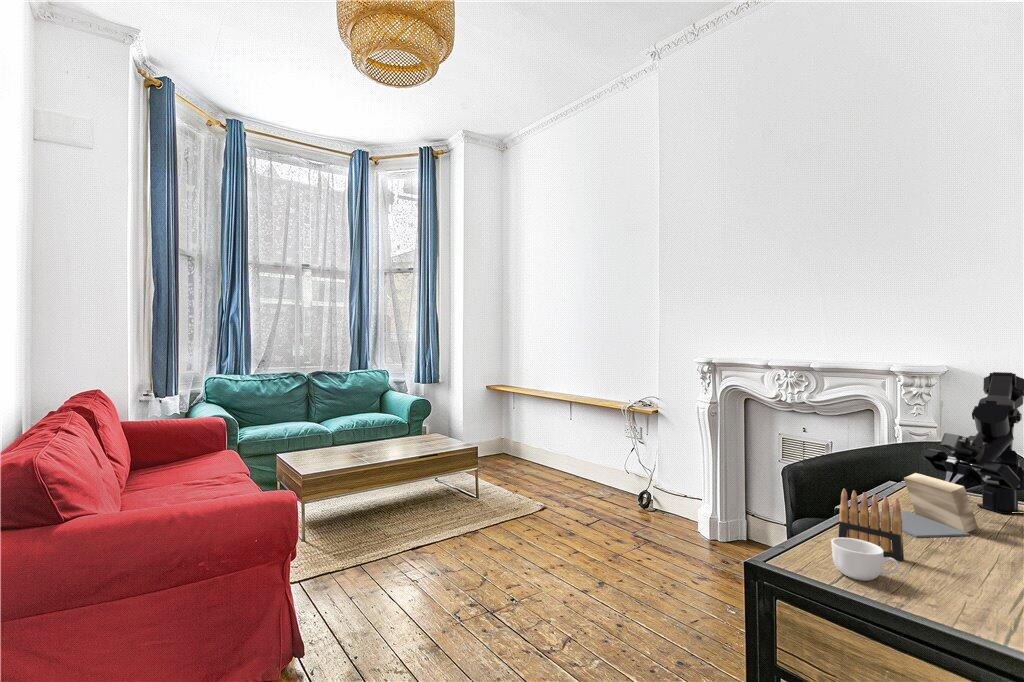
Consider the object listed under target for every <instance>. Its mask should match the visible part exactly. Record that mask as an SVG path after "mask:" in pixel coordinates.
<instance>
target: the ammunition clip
mask: <svg viewBox="0 0 1024 682" xmlns="http://www.w3.org/2000/svg"><path fill="white" fill-rule="evenodd" d="M877 496H878V495H876V493H874V494H873V495H872V498H871V502H870V504H871V505H870V511H869V503H868V502H869V501H868V500H869V499H868V495H867V494H866V492H865V491H864V492H862V495H861V498H860V510H859V504H858V503H859V502H858V494H857V491H856V490H855V489H854V490H852V493H851V496H850V506H849V501H848V500H849V498H848V492H847V489H846V488H843V489H842V491H841V495H840V506H839V522H838V523H839V524H838V537H837V538H840V537H843V538H853V539H859V540H863V541H867V542H870V543H873V544H875V545H877V546H879V547H881V548H882V549H883V550H884V554H883V557H891V558H893V559H895V560H896V561H897V562H900V563H902V562H903V561H904V560H905V556H904V541H903V532H902V519H901V512H902V510H901V503H900V500H899V498H898V497H896V498H895V499H894V501H893V506H892V512H893V516H892V527H891V518H890V512H891V511H890V503H889V502H890V501H889V499H888V497H887V495H885V496H884V497H883V499H882V501H881V502H882V503H881V512H882V514H881V522H880V516H879V512H880V510H879V500H878V497H877ZM869 513H870V518H869Z"/></svg>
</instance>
